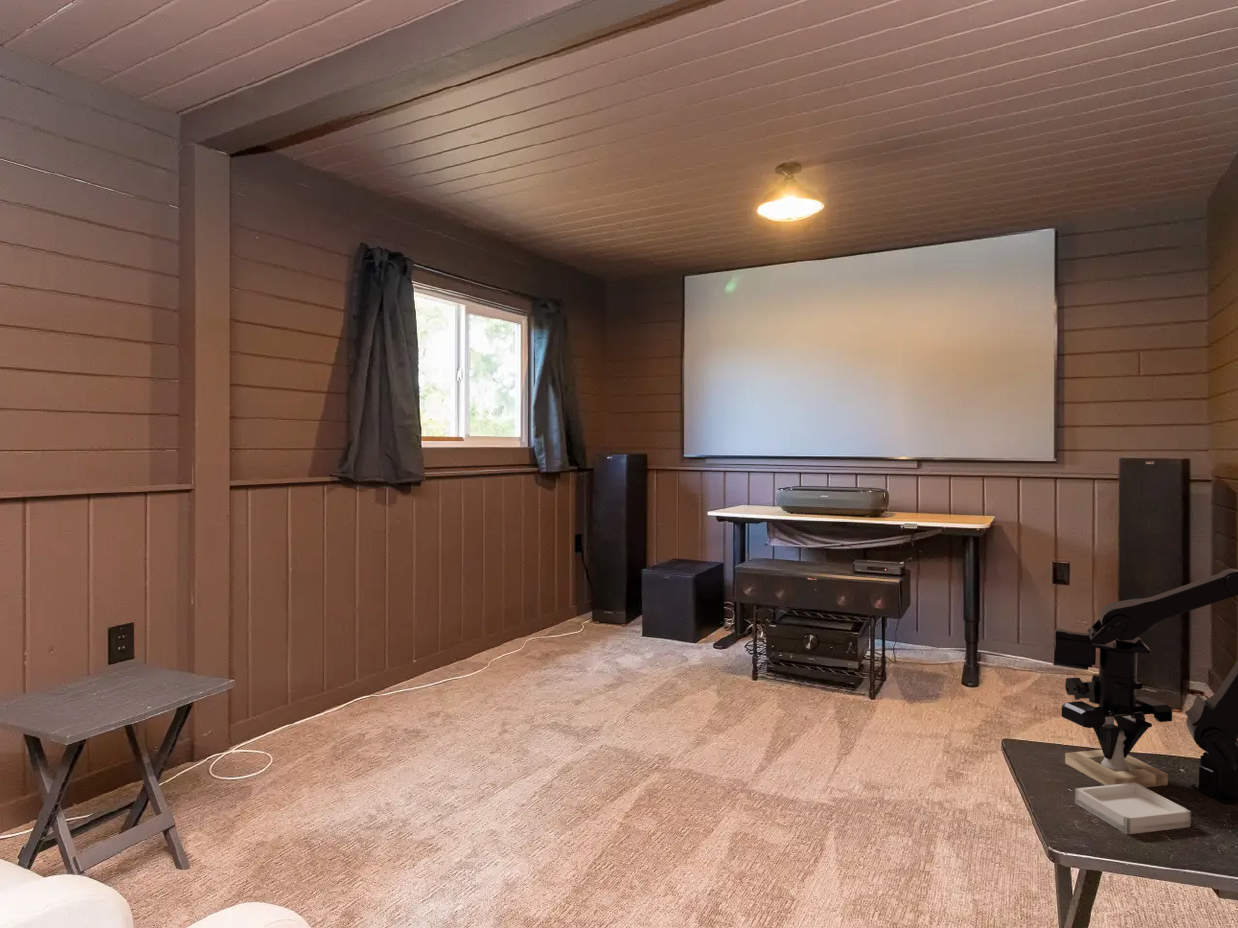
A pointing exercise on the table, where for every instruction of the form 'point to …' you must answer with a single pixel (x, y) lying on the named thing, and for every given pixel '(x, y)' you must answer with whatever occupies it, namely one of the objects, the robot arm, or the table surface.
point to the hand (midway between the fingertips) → (1115, 757)
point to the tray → (1132, 808)
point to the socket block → (1092, 767)
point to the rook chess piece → (1117, 756)
